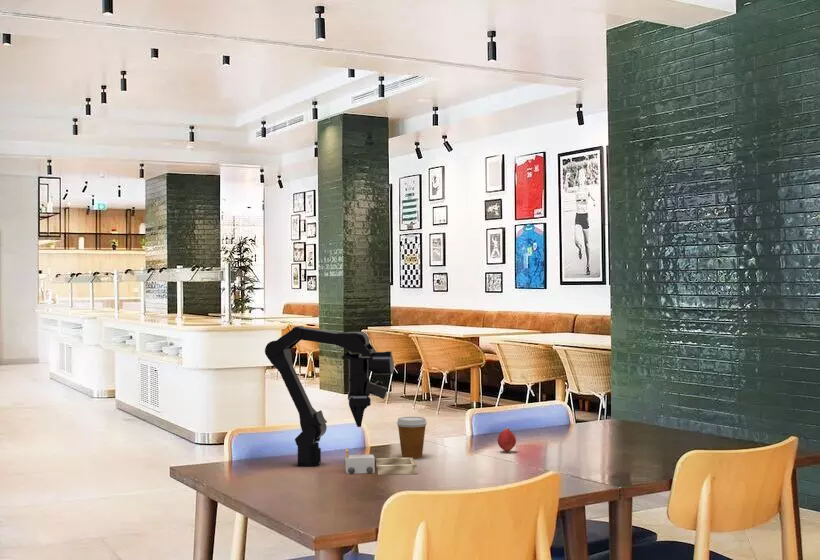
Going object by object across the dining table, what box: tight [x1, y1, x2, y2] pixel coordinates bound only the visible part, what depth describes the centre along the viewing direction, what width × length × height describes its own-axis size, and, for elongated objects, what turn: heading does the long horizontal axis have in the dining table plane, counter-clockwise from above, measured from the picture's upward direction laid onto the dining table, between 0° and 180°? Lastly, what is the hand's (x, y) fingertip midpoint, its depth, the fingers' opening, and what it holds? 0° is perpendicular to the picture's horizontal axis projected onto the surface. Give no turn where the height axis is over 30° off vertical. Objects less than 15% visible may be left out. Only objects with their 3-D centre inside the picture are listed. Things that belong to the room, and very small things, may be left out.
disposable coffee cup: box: [396, 416, 428, 459], centre depth 293 cm, size 10×10×12 cm
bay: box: [375, 457, 418, 476], centre depth 272 cm, size 11×12×2 cm
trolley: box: [344, 448, 376, 475], centre depth 270 cm, size 8×7×6 cm
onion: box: [497, 426, 517, 453], centre depth 301 cm, size 6×6×8 cm
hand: (359, 426), depth 279 cm, fingers closed
